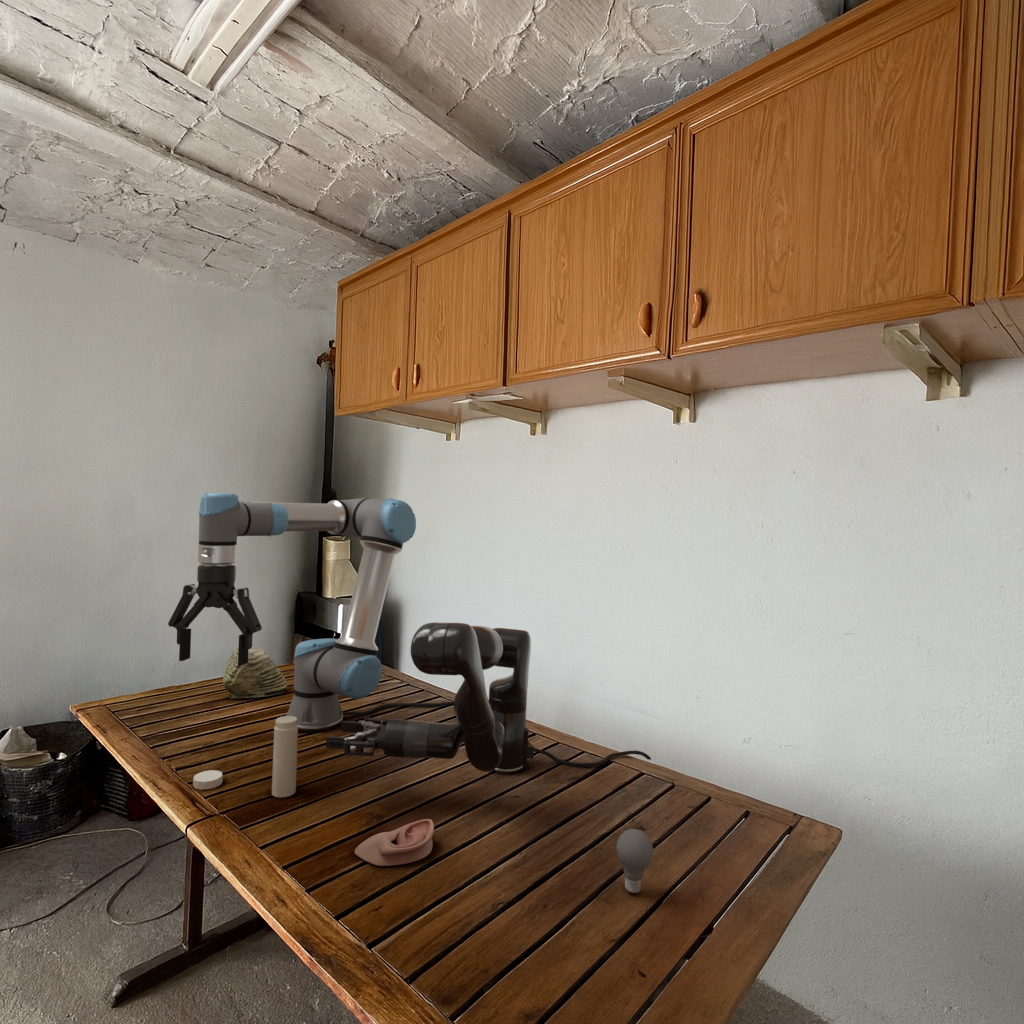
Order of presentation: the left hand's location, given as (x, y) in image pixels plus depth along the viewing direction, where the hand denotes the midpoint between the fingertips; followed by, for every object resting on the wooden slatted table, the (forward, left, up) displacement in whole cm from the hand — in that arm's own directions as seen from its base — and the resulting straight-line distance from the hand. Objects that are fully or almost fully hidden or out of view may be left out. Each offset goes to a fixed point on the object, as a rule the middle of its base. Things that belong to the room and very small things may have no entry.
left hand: (213, 662), depth 137 cm
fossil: (-38, -49, -26) cm, 68 cm away
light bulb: (-29, +87, -26) cm, 96 cm away
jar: (-9, +15, -26) cm, 32 cm away
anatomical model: (-10, +49, -26) cm, 57 cm away
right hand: (-15, +23, -13) cm, 31 cm away
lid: (0, 0, -25) cm, 25 cm away
